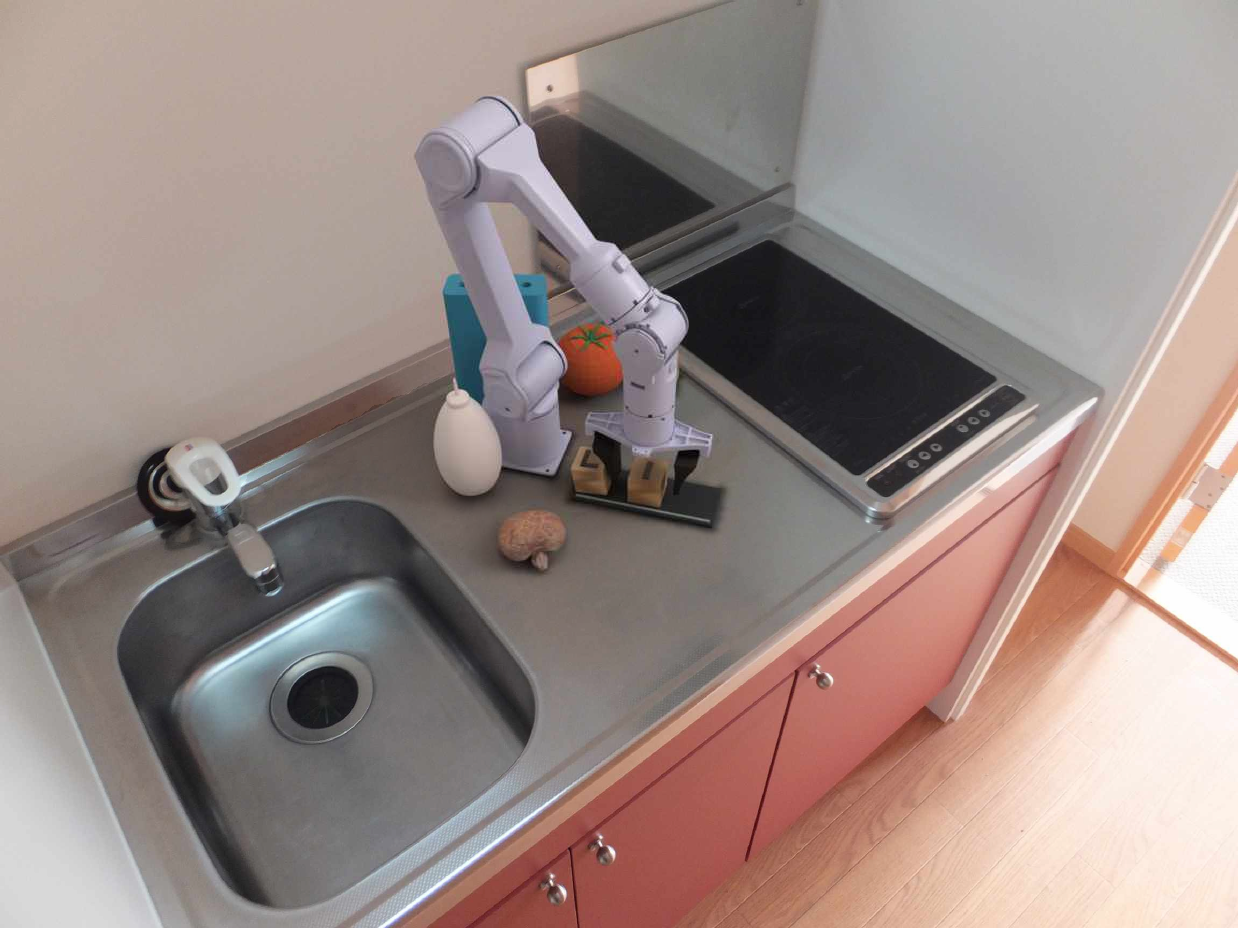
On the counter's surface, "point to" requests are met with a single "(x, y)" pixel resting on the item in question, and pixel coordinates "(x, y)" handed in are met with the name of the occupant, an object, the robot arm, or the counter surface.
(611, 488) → the black tile rack
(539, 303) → the block
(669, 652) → the counter surface
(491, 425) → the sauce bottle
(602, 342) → the tomato
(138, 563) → the counter surface
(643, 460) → the tile
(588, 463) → the tile
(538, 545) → the mushroom
